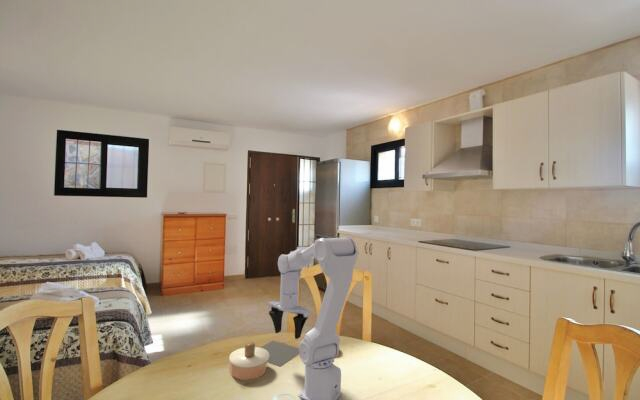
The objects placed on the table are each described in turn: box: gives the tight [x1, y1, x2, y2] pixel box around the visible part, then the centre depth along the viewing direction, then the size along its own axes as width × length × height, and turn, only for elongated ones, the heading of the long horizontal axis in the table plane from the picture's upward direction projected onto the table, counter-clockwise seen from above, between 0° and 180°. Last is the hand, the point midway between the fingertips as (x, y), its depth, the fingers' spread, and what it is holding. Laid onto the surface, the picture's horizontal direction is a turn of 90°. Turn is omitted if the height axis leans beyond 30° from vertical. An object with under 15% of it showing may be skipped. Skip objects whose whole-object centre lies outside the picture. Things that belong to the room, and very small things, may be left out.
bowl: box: [228, 361, 268, 381], centre depth 100 cm, size 11×11×4 cm
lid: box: [228, 341, 269, 367], centre depth 100 cm, size 12×12×4 cm
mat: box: [259, 340, 299, 368], centre depth 112 cm, size 14×14×1 cm
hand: (287, 334), depth 104 cm, fingers open, 7 cm apart
